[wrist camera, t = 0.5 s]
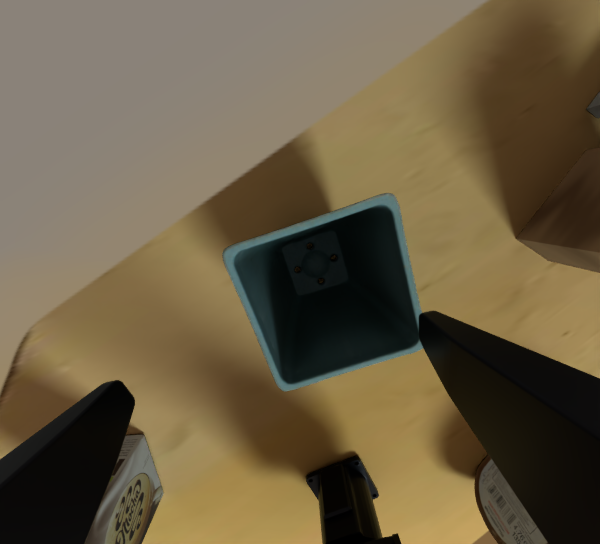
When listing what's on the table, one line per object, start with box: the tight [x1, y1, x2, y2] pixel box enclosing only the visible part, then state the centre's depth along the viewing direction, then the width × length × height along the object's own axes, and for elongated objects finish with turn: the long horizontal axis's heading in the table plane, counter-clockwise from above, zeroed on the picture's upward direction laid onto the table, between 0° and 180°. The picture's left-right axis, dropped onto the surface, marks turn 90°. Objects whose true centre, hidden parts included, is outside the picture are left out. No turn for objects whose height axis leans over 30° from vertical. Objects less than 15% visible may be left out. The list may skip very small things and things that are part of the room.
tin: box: [475, 454, 548, 544], centre depth 24 cm, size 15×3×8 cm, turn 155°
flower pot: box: [223, 193, 423, 391], centre depth 17 cm, size 9×9×9 cm
